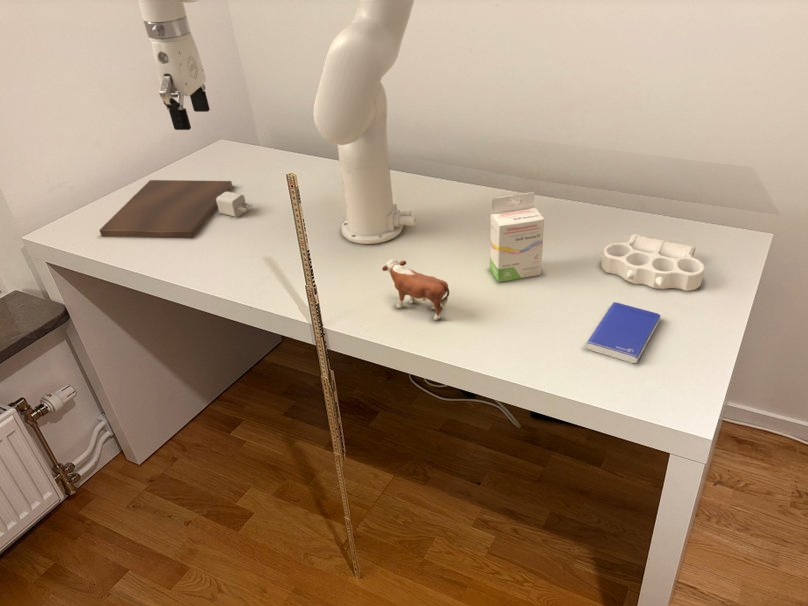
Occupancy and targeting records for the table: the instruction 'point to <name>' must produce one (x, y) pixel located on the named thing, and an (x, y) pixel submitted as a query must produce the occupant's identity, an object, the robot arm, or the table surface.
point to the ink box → (516, 237)
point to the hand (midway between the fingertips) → (192, 120)
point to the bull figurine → (417, 286)
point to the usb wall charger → (232, 204)
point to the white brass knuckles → (654, 263)
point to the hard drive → (623, 332)
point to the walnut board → (167, 209)
